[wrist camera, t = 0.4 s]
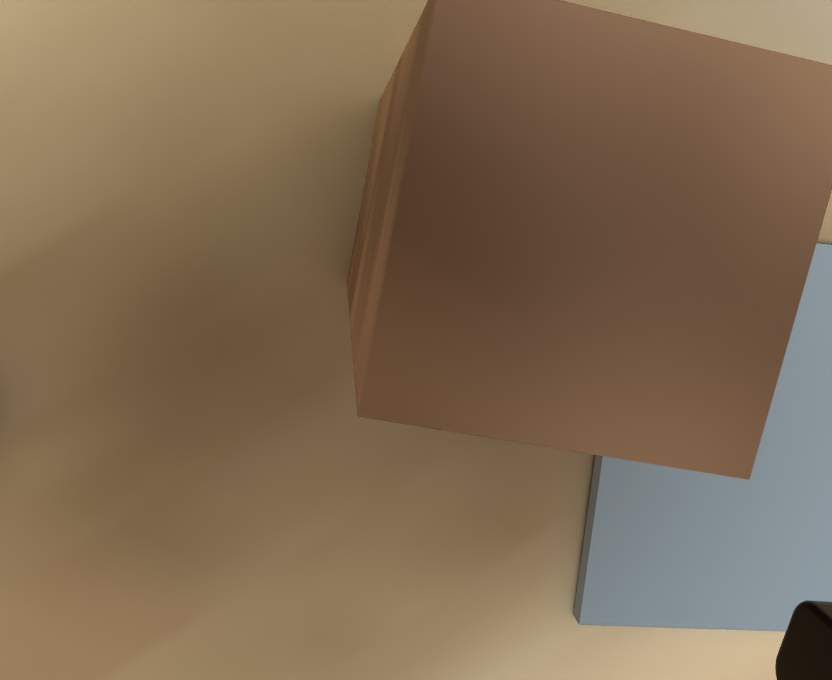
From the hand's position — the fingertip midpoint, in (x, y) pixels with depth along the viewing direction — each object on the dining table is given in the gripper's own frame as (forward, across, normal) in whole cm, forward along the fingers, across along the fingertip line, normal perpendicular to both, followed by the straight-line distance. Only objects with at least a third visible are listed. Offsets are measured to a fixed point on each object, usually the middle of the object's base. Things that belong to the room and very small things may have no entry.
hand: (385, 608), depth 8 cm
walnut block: (+15, -2, -1) cm, 15 cm away
